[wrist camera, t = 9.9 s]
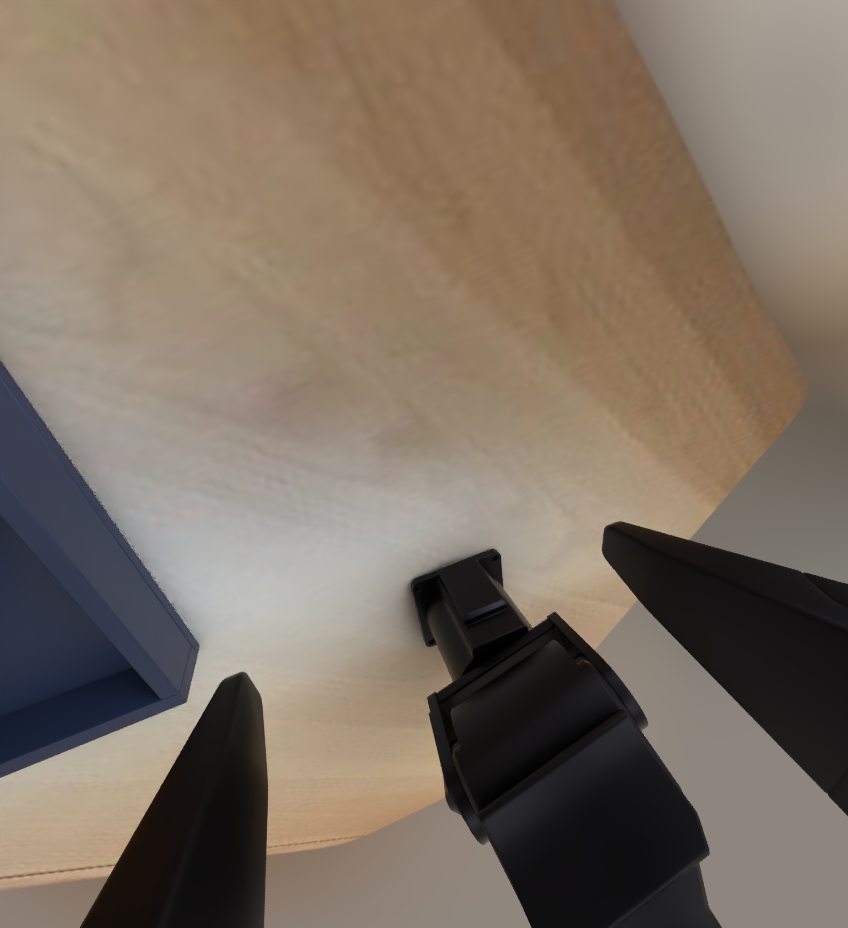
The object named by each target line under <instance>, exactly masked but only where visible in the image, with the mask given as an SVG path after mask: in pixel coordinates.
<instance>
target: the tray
mask: <svg viewBox="0 0 848 928" xmlns="http://www.w3.org/2000/svg"><path fill="white" fill-rule="evenodd" d="M198 651H199V644H198V643H197V641H196V640H195V638H194V637H193V636H192V634H191V633H190V631H189V630H188V628H187V627H186V626H185V624H184V623H183V621H182V620H181V618H180V617H179V616H178V614H177V613H176V611H175V610H174V608H173V607H172V606H171V604H170V603H169V601H168V600H167V598H166V597H165V596H164V594H163V593H162V591H161V590H160V588H159V587H158V586H157V584H156V583H155V581H154V580H153V578H152V577H151V576H150V574H149V573H148V571H147V570H146V568H145V567H144V566H143V564H142V563H141V561H140V560H139V558H138V557H137V556H136V554H135V553H134V551H133V550H132V548H131V547H130V546H129V544H128V543H127V541H126V540H125V538H124V537H123V536H122V534H121V533H120V531H119V530H118V528H117V527H116V526H115V524H114V523H113V521H112V520H111V518H110V517H109V516H108V514H107V513H106V511H105V510H104V508H103V507H102V506H101V504H100V503H99V501H98V500H97V498H96V497H95V496H94V494H93V493H92V491H91V490H90V488H89V487H88V486H87V484H86V483H85V481H84V480H83V478H82V477H81V476H80V474H79V473H78V471H77V470H76V468H75V467H74V466H73V464H72V463H71V461H70V460H69V458H68V457H67V456H66V454H65V453H64V451H63V450H62V448H61V447H60V446H59V444H58V443H57V441H56V440H55V438H54V437H53V436H52V434H51V433H50V431H49V430H48V428H47V427H46V426H45V424H44V423H43V421H42V420H41V418H40V417H39V416H38V414H37V413H36V411H35V410H34V408H33V407H32V406H31V404H30V403H29V401H28V400H27V398H26V397H25V396H24V394H23V393H22V391H21V390H20V388H19V387H18V386H17V384H16V383H15V381H14V380H13V378H12V377H11V376H10V374H9V373H8V371H7V370H6V368H5V367H4V366H3V364H2V363H1V361H0V778H1V777H3V776H6V775H8V774H11V773H13V772H16V771H18V770H21V769H23V768H26V767H28V766H31V765H33V764H35V763H38V762H40V761H43V760H45V759H48V758H50V757H53V756H55V755H58V754H60V753H63V752H65V751H68V750H70V749H73V748H75V747H77V746H80V745H82V744H85V743H87V742H90V741H92V740H95V739H97V738H100V737H102V736H105V735H107V734H110V733H112V732H115V731H117V730H119V729H122V728H124V727H127V726H129V725H132V724H134V723H137V722H139V721H142V720H144V719H147V718H149V717H152V716H154V715H157V714H159V713H161V712H164V711H166V710H169V709H171V708H174V707H176V706H179V705H181V704H184V703H186V702H187V698H188V694H189V690H190V685H191V681H192V677H193V672H194V668H195V664H196V660H197V654H198Z"/></svg>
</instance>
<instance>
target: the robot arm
mask: <svg viewBox="0 0 848 928" xmlns="http://www.w3.org/2000/svg"><path fill="white" fill-rule="evenodd" d="M602 552H603V555H604V557H605V559H606V560H607V561H608V563H609V564H610V565H611V566H612V568H613V569H614V570H615V571H616V572H617V574H618V575H619V576H620V577H621V579H622V580H623V581H624V582H625V584H626V585H627V586H628V587H629V588H630V590H631V591H632V592H633V593H634V595H635V596H636V597H637V598H638V600H639V601H640V602H641V603H642V604H643V605H644V607H645V608H646V609H647V610H648V611H649V612H650V613H651V614H652V615H653V616H654V617H655V618H656V619H657V620H658V621H659V622H660V623H661V624H662V625H663V626H664V627H665V629H667V630H668V632H669V633H671V635H672V636H673V637H674V638H675V639H676V640H677V641H678V642H679V643H680V644H681V645H682V646H683V647H684V648H685V649H686V650H687V651H688V652H689V653H690V654H691V655H692V656H693V657H694V658H695V659H696V660H697V661H698V662H699V663H700V664H701V665H702V666H703V668H705V670H706V671H707V672H708V673H709V674H710V675H711V676H712V677H713V678H714V679H715V680H716V681H717V682H718V683H719V684H720V685H721V686H722V687H723V688H724V689H725V690H726V691H727V692H728V693H729V694H730V695H731V696H732V697H733V698H734V699H735V700H736V701H737V702H738V703H739V704H740V705H741V707H742V708H743V709H744V710H745V711H746V712H747V713H748V714H749V715H750V716H751V717H752V718H753V719H754V720H755V721H756V722H757V723H758V724H759V725H760V726H761V727H762V728H763V729H764V730H765V731H766V732H767V733H768V734H769V735H770V736H771V737H772V738H773V739H774V740H775V741H776V742H777V743H778V745H779V746H780V747H782V749H783V750H784V751H785V752H786V753H787V754H788V755H789V756H790V757H791V758H792V759H793V760H794V761H795V762H796V763H797V764H798V765H799V766H800V767H801V768H802V769H803V770H804V771H805V772H806V773H807V774H808V775H809V776H810V777H811V778H812V779H813V780H814V781H815V782H816V783H817V784H818V786H820V788H821V789H822V790H823V791H824V792H826V793H828V796H829V797H830V798H831V799H832V800H833V801H834V802H835V803H836V804H837V805H838V806H839V807H840V808H841V809H842V810H843V812H844V813H845V814H846V815H847V816H848V584H845V583H842V582H837V581H834V580H830V579H827V578H823V577H819V576H816V575H812V574H809V573H802V572H800V571H798V570H794V569H791V568H787V567H783V566H780V565H776V564H773V563H769V562H765V561H762V560H758V559H755V558H751V557H748V556H744V555H740V554H737V553H733V552H729V551H726V550H722V549H719V548H715V547H711V546H708V545H704V544H701V543H697V542H694V541H690V540H686V539H683V538H679V537H676V536H672V535H668V534H665V533H661V532H658V531H654V530H651V529H647V528H643V527H640V526H636V525H633V524H629V523H625V522H621V521H619V522H615V523H613V524H610V525H608V526H606V527H605V529H604V534H603V544H602ZM493 556H494V557H493ZM418 585H420V586H418ZM417 586H418V587H417ZM411 589H412V593H413V597H414V602H415V606H416V610H417V614H418V618H419V622H420V626H421V630H422V634H423V639H424V642H425V644H426V646H428V647H431V646H434V645H437V646H438V648H439V651H440V653H441V655H442V657H443V660H444V662H445V664H446V667H447V669H448V671H449V673H450V676H451V678H452V680H453V682H452V683H451V684H449V685H448V686H446V687H445V688H443V689H442V690H440V691H439V692H437V693H436V692H434V693H433V694H431V695H430V696H428V697H427V700H428V704H429V708H430V713H429V717H430V721H431V725H432V729H433V734H434V738H435V742H436V746H437V751H438V755H439V759H440V763H441V767H442V772H443V778H444V788H445V797H446V801H447V803H448V805H449V807H450V809H451V810H452V811H454V812H456V813H458V814H460V815H462V817H463V819H464V820H465V822H466V823H467V825H468V827H469V829H470V830H471V832H472V834H473V835H474V837H475V838H476V839H477V841H478V842H479V843H480V844H482V845H484V844H486V843H487V842H489V841H490V843H491V845H492V847H493V849H494V851H495V853H496V855H497V857H498V859H499V861H500V863H501V865H502V867H503V868H504V871H505V873H506V875H507V877H508V879H509V881H510V883H511V885H512V887H513V889H514V891H515V893H516V895H517V897H518V899H519V901H520V903H521V905H522V907H523V909H524V912H525V914H526V916H527V918H528V921H529V923H530V925H531V928H722V927H721V926H720V924H719V922H718V921H717V919H716V918H715V916H714V915H713V913H712V912H711V910H710V908H709V905H708V901H707V896H706V892H705V888H704V883H703V879H702V874H701V869H700V865H699V863H700V862H701V861H702V860H703V859H705V858H706V857H707V856H709V853H710V852H709V847H708V844H707V841H706V838H705V835H704V832H703V828H702V825H701V822H700V819H699V816H698V814H697V812H696V811H695V809H694V808H693V806H692V805H691V804H690V802H689V801H688V800H687V798H686V797H685V796H684V794H683V792H682V790H681V788H680V786H679V785H678V783H677V782H676V780H675V779H674V778H673V776H672V775H671V773H670V772H669V771H668V769H667V768H666V766H665V765H664V763H663V762H662V760H661V759H660V757H659V756H658V755H657V753H656V752H655V750H654V749H653V748H652V746H651V744H650V743H649V742H648V740H647V739H646V737H645V736H644V734H643V733H642V731H641V730H643V729H644V728H646V727H647V726H648V721H647V719H646V717H645V715H644V713H643V711H642V709H641V708H640V706H639V705H638V703H637V701H636V700H635V698H634V697H633V696H632V695H631V693H630V691H629V690H628V689H627V687H626V686H625V685H624V683H623V682H622V681H621V679H620V678H619V677H618V676H617V675H616V673H615V672H614V671H613V670H612V669H611V667H610V666H609V665H608V664H607V663H606V662H605V661H604V660H603V658H602V657H601V656H600V655H599V654H598V653H596V651H595V650H593V649H592V648H591V647H590V646H589V645H588V644H587V643H586V642H585V641H584V640H583V639H582V638H581V637H580V636H579V635H578V634H577V633H576V632H575V631H574V630H573V629H572V628H571V627H570V626H569V625H568V624H567V623H566V622H565V621H564V620H563V619H562V618H561V617H560V616H559V615H558V614H557V613H556V612H553V613H552V614H550V615H549V616H547V619H546V620H544V621H543V622H541V623H540V624H538V625H537V626H535V627H534V628H532V626H531V625H530V624H529V622H528V621H527V620H526V618H525V617H524V616H523V614H522V613H521V612H520V610H519V609H518V608H517V606H516V605H515V604H514V602H513V601H512V600H511V598H510V597H509V596H508V594H507V593H506V592H505V590H504V589H503V578H502V565H501V555H500V553H499V552H498V551H497V550H496V549H491V550H489V551H486V552H483V553H481V554H478V555H476V556H473V557H470V558H468V559H465V560H463V561H460V562H457V563H455V564H452V565H450V566H447V567H444V568H442V569H439V570H437V571H434V572H431V573H429V574H426V575H424V576H421V577H418V578H416V579H414V580H413V581H412V583H411ZM267 815H268V777H267V762H266V748H265V734H264V720H263V706H262V699H261V696H260V693H259V692H258V690H257V689H256V687H255V685H254V684H253V682H252V681H251V679H250V678H249V676H248V675H247V674H246V673H245V672H240V673H237V674H235V675H232V676H230V677H227V678H225V679H224V680H223V681H222V682H221V683H220V685H219V686H218V688H217V690H216V691H215V693H214V695H213V697H212V698H211V700H210V702H209V704H208V705H207V707H206V709H205V711H204V712H203V714H202V716H201V718H200V719H199V721H198V723H197V725H196V726H195V728H194V730H193V731H192V733H191V735H190V737H189V738H188V740H187V742H186V744H185V745H184V747H183V749H182V751H181V752H180V754H179V756H178V758H177V759H176V761H175V763H174V765H173V766H172V768H171V770H170V771H169V773H168V775H167V777H166V778H165V780H164V782H163V784H162V785H161V787H160V789H159V791H158V792H157V794H156V796H155V798H154V799H153V801H152V803H151V805H150V806H149V808H148V810H147V812H146V813H145V815H144V817H143V818H142V820H141V822H140V824H139V825H138V827H137V829H136V831H135V832H134V834H133V836H132V838H131V839H130V841H129V843H128V845H127V846H126V848H125V850H124V852H123V853H122V855H121V857H120V859H119V860H118V862H117V864H116V865H115V867H114V869H113V871H112V872H111V874H110V876H109V878H108V879H107V881H106V883H105V885H104V887H103V888H102V890H101V892H100V893H99V895H98V897H97V899H96V900H95V902H94V904H93V905H92V907H91V909H90V911H89V913H88V914H87V916H86V918H85V919H84V921H83V923H82V925H81V926H80V928H264V909H265V908H264V906H265V878H266V877H265V876H266V846H267Z"/></svg>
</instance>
